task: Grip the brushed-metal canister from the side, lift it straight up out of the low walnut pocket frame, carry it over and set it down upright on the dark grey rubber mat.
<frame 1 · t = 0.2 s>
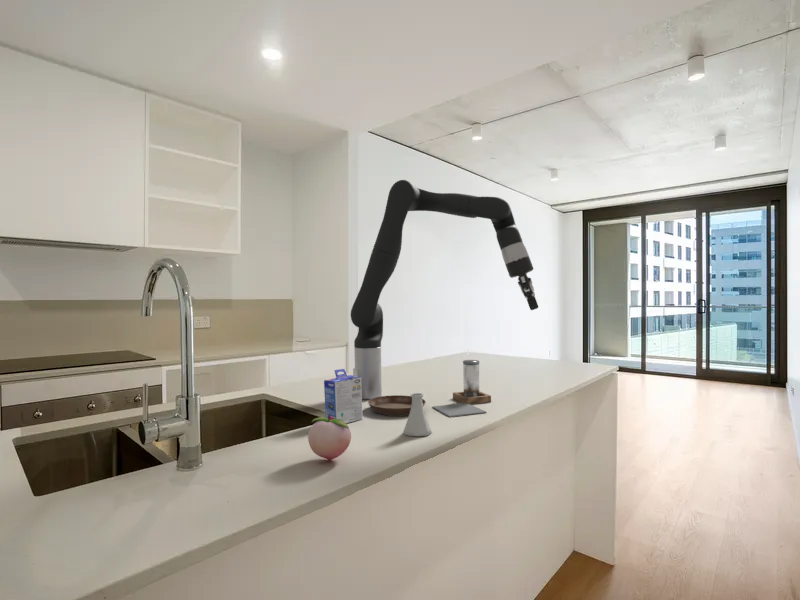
hand: (534, 309, 141), 30 cm above the counter, tool tilted 20°, fingers open, 8 cm apart
flask: (417, 433, 118), on the counter
ink cartridge box: (343, 422, 129), on the counter
rubber mat: (458, 410, 140), on the counter
canister: (471, 380, 152), in the pocket frame
plant saucer: (396, 411, 141), on the counter
decorative fruit: (329, 461, 99), on the counter
pocket frame: (471, 400, 152), on the counter
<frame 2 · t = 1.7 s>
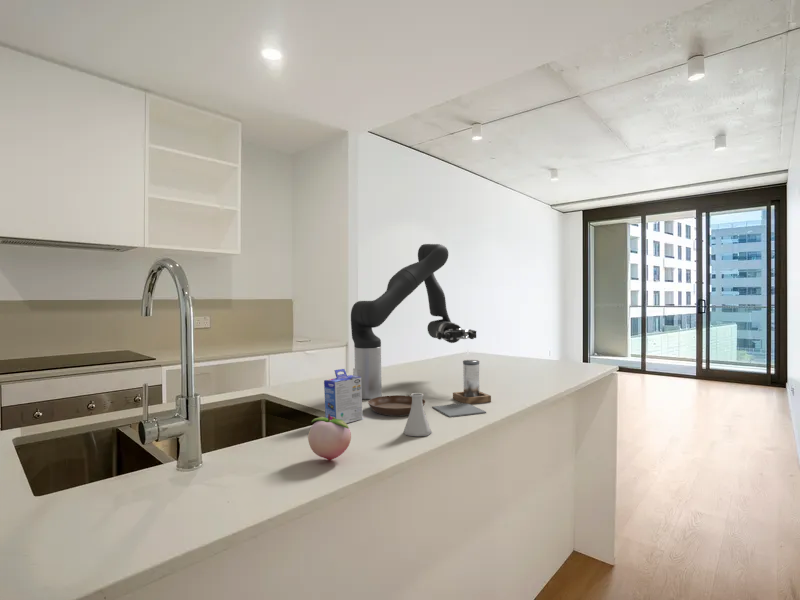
hand: (461, 336, 162), 20 cm above the counter, tool horizontal, fingers open, 8 cm apart
nothing on the counter moved.
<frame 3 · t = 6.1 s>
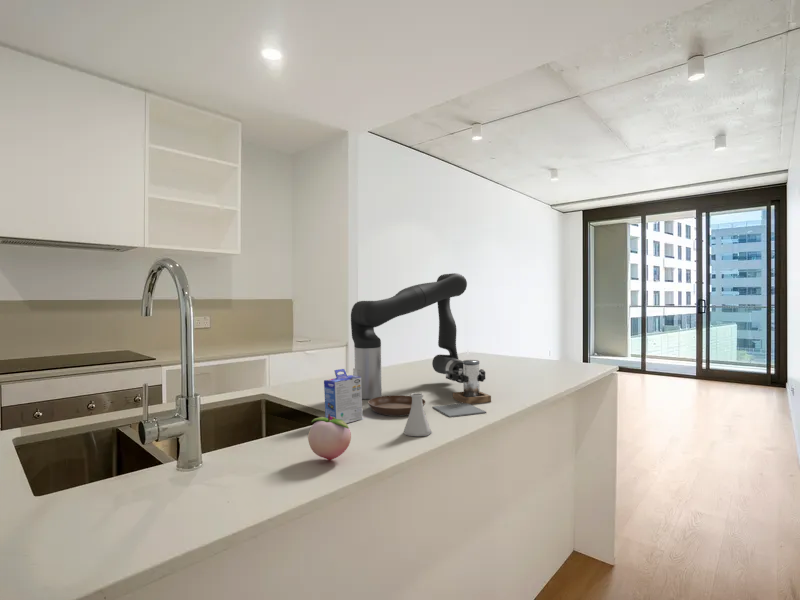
hand: (474, 378, 150), 8 cm above the counter, tool horizontal, fingers closed on canister, 5 cm apart
canister: (471, 380, 152), in the pocket frame, touching gripper
everything else where it was.
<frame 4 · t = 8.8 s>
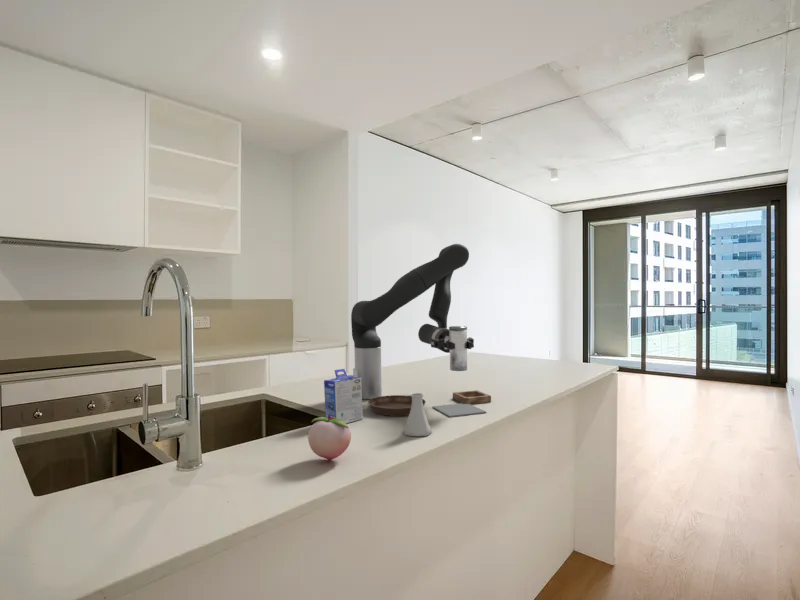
hand: (460, 345, 137), 20 cm above the counter, tool horizontal, fingers closed on canister, 5 cm apart
canister: (458, 348, 139), point 19 cm above the counter, touching gripper
everything else where it was.
when the fingers open (9 cm above the counter, at t = 11.3 s): canister stays where it is, resting on rubber mat.
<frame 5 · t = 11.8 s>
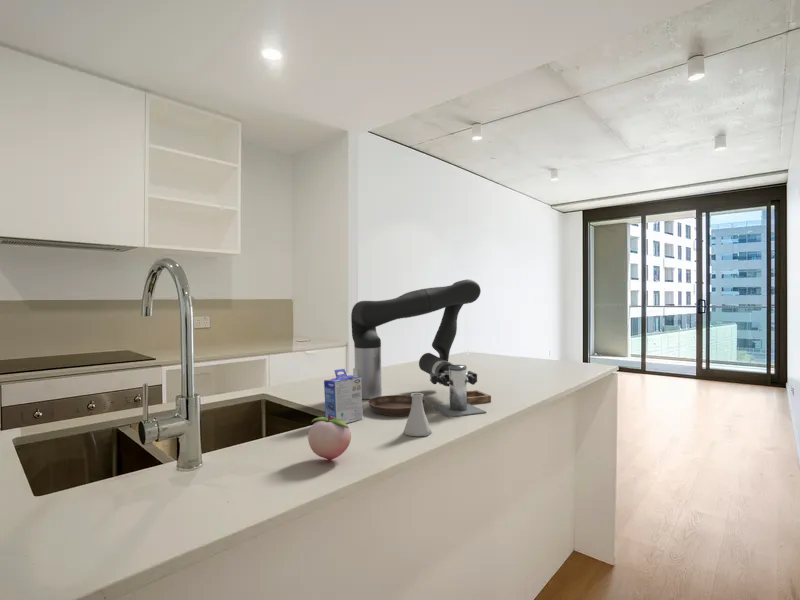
hand: (460, 381, 138), 9 cm above the counter, tool horizontal, fingers open, 8 cm apart
canister: (458, 387, 140), on the rubber mat
everything else where it was.
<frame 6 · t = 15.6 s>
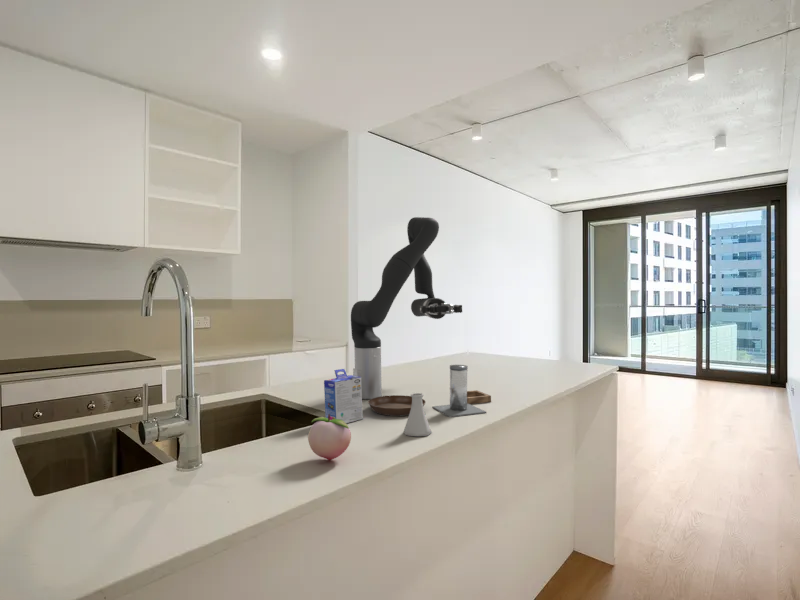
hand: (446, 309, 155), 30 cm above the counter, tool horizontal, fingers open, 8 cm apart
nothing on the counter moved.
at the end: canister inside the target area on the rubber mat (0.1 cm from its centre), point 6.9 cm above the rubber mat's base; canister tilted 1°; canister touching rubber mat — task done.
